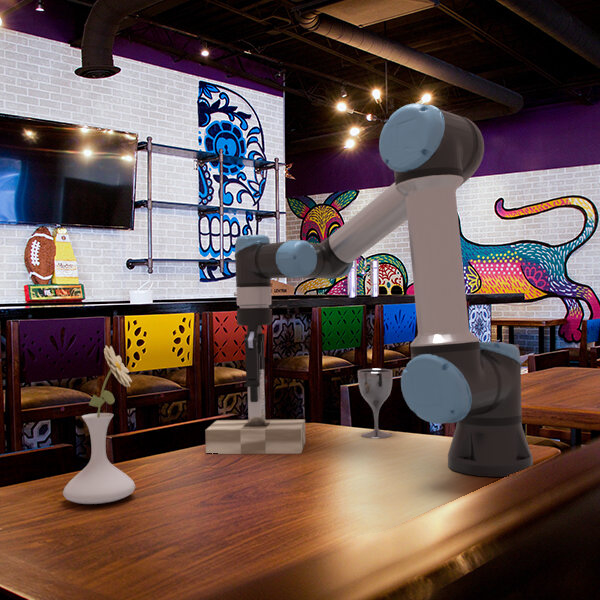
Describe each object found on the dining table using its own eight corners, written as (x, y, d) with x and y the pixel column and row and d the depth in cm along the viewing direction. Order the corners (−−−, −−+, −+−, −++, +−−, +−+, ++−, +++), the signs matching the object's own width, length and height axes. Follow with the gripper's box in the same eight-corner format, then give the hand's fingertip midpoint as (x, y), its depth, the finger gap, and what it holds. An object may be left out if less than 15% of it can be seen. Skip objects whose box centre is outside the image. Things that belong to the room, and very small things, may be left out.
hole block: (301, 453, 147) (300, 429, 147) (205, 454, 149) (205, 430, 149) (305, 441, 159) (304, 419, 159) (217, 442, 161) (216, 420, 161)
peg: (264, 440, 152) (262, 370, 152) (247, 440, 152) (246, 370, 152) (266, 437, 155) (264, 368, 155) (250, 437, 156) (248, 369, 156)
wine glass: (353, 437, 163) (352, 371, 163) (367, 431, 170) (365, 368, 170) (386, 439, 159) (384, 372, 159) (398, 433, 166) (397, 369, 166)
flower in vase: (108, 512, 108) (104, 349, 108) (47, 507, 112) (43, 349, 112) (154, 490, 121) (150, 343, 121) (98, 486, 125) (94, 343, 125)
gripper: (243, 307, 163) (245, 409, 163) (229, 308, 146) (232, 422, 146) (275, 306, 162) (278, 408, 162) (266, 307, 145) (268, 421, 145)
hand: (256, 414), depth 154 cm, fingers open, 4 cm apart
